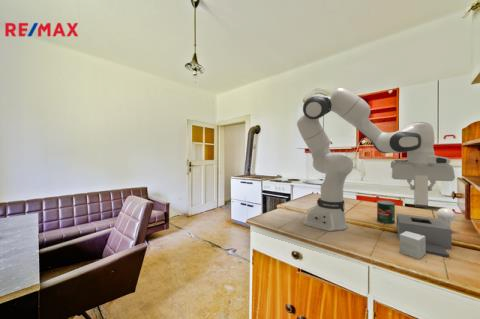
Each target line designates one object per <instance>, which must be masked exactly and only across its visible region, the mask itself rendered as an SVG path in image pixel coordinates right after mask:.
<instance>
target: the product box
mask: <svg viewBox="0 0 480 319" xmlns="http://www.w3.org/2000/svg"><path fill="white" fill-rule="evenodd" d="M399 252H400V253H401V254H404V255H407V256H410V257H412V258H414V259H417V260H420V259H422V257H424V256H425V255H426V254H427V253H426V248H425V236H423V235H419V234H416V233H412V232H408V231H405V232H404V233H402V234H400V240H399Z"/></svg>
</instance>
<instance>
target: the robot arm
mask: <svg viewBox="0 0 480 319" xmlns="http://www.w3.org/2000/svg"><path fill="white" fill-rule="evenodd" d="M371 110H372V109H371V106H370V105H369V104H368V103H367V101H366V100H365V99H363V98H362V97H360V96H359V95H357V94H356V93H355V92H352V91H351V90H348V89H346V88H344V87H337V88H335V89H334V90H332V91H331V92H330V93H329V94H328V95H326V94H324V93H322V92H316V93H315V92H314V93H313V94H311V95H309V97H308V98H306V100H305V102H304V103H303V106H302V112H303V115H302V116H301V117H299V119H298V120H297V122H296V126H297V128H298V132H299V133H300V135H301V138H302V139H303V141H304V142H305V144H306V146H307V148H308V150H309V152H310V154H311V157H312V167H313V168H314V169H315V170H316V171H317V172H319V173H321V174H324V175H325V176H324V179H323V182H322V183H321V185H320V197H318V198H317V200H316V203H317V205H315V206H314V207H312V208H311V209H309V211H308V212H307V215H306V217H305V218H304V219H303V220H302V224H303V225H304V226H309V227H313V228H316V229H320V230H323V231H327V232H334V231H344V230H346V229H347V228H348V225H347V221H346V217H345V215H346V214H345V210H346V208H345V205H346V203H345V199H344V185H345V182H346V179H347V176H348V175H350V174H351V172H352V171H353V170H354V169H353V168H354V162H353V160H352V159H351V157H350V156H346V155H343V154H333V153H332V152H331V148H330V145H331V140H330V138H329V137H328V134H327V133H326V131H325V130H324V128H323V126H322V124H321V122H320V118H323V117H324V116H325V115H327V114H329V113H330V112H332V113H335V114H337V115H338V116H339V118H340V117H341V119H343V120H344V121H346V122H347V123H348V124H350V125H352V126H353V127H354V128H355V129H356V130H358V131H359V133H361V134H362V135H363V136H365V137H366V138H367V139H368V140H369V141H370V142H371V143H372V145H373V147H374V149H375V150H376V152H379V153H380V154H401V153H406V154H407V155H406V159H405V158H404V159H394V160H392V161H391V163H390V168H391V169H392V171H391V178H392V179H393V180H403V181H405V180H406V182H407V184H408V185H409V187H410V190H411V191H414V190H415V186H414V184H412V182H413V181H414V180H415V175H421V176H428V182H429V183H430V184H428V192H432V191H433V187H434V186H435V184H436V181H437V182H453V181H454V180H455V178H456V176H455V170H454V167H453V166H452V164H451V159H450V158H448V157H445V156H440V155H435V150H434V144H435V130H434V127H433V125H432V123H431V124H430V123H428V122H423V121H422V122H411V123H409V124H408V125H407V126H404V128H401V129H398V130H397V131H393V132H385V131H382V130H381V129H380V128H378V126H376V125H375V124H374V123H373V122H372V121H371V120H370V115H371Z"/></svg>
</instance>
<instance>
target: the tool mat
mask: <svg viewBox="0 0 480 319" xmlns="http://www.w3.org/2000/svg"><path fill="white" fill-rule="evenodd" d="M425 248H426V254H427V255H433V256H440V257H444V258H447V259H449V258H450V254H449V252H448V251H447V249H446V248H444V247H441V246H436V245H430V244H425Z"/></svg>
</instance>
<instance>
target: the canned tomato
mask: <svg viewBox="0 0 480 319" xmlns="http://www.w3.org/2000/svg"><path fill="white" fill-rule="evenodd" d="M376 203H377V204H376V212H377V213H376V217H377V218H376V219H377V220H376V221H377V222H378V223H379V224H383V223H384V224H383V225H395V224H396V213H395V212H396V210H395V209H396V207H395V206H396V205H395V204H396V203H395V202H393V201H391V200H377V201H376Z"/></svg>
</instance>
